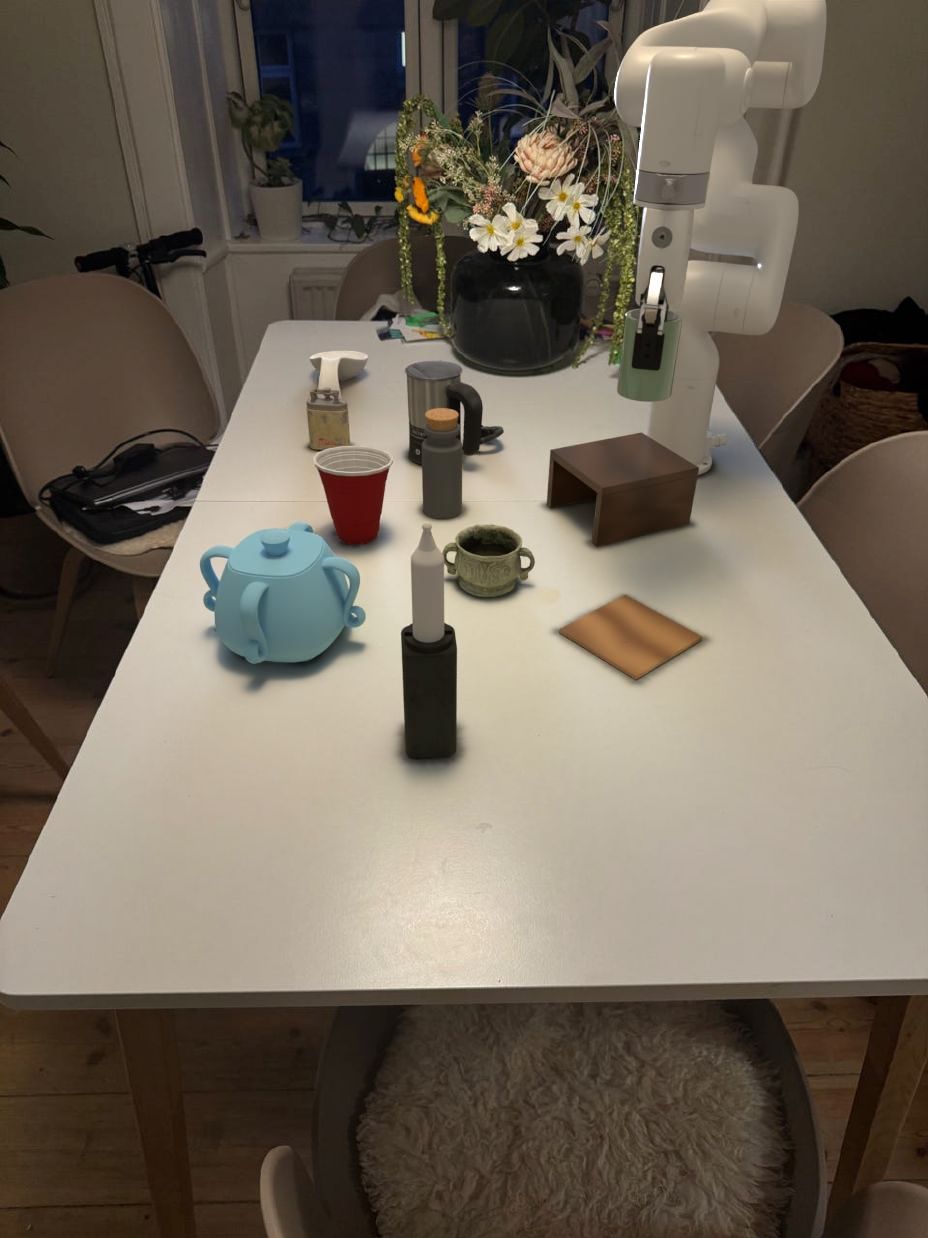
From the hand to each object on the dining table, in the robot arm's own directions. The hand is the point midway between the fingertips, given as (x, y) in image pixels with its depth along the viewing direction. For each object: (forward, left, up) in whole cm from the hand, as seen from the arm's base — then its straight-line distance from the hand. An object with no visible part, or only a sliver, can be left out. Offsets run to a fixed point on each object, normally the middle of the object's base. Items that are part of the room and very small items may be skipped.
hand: (648, 358), depth 102 cm
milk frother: (+4, -44, -28) cm, 53 cm away
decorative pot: (+45, -3, -28) cm, 53 cm away
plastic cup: (+29, -23, -28) cm, 47 cm away
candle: (+37, +21, -28) cm, 51 cm away
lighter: (+23, -54, -28) cm, 65 cm away
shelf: (-8, -13, -28) cm, 32 cm away
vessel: (+18, -4, -28) cm, 34 cm away
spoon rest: (+12, -83, -28) cm, 89 cm away
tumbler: (0, 0, -4) cm, 4 cm away
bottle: (+15, -25, -28) cm, 41 cm away
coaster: (+8, +14, -28) cm, 33 cm away
